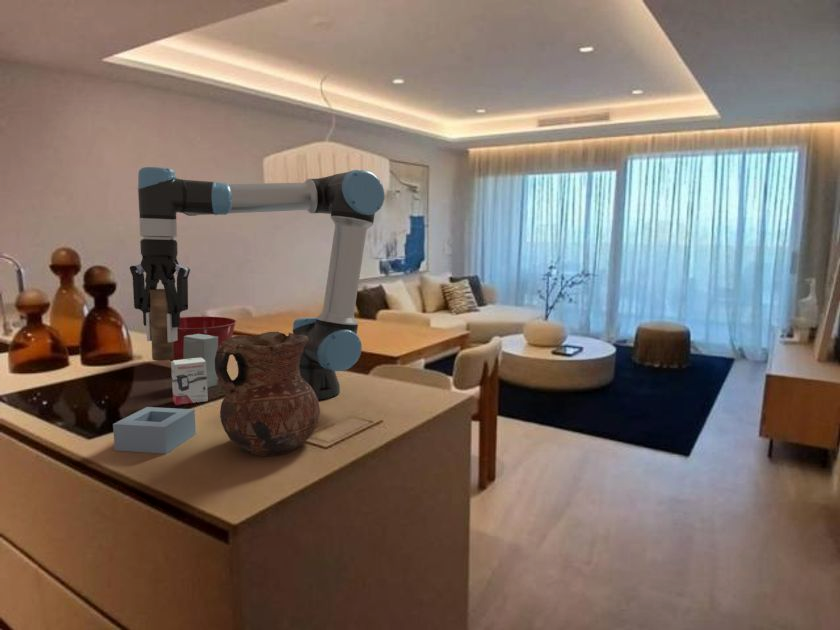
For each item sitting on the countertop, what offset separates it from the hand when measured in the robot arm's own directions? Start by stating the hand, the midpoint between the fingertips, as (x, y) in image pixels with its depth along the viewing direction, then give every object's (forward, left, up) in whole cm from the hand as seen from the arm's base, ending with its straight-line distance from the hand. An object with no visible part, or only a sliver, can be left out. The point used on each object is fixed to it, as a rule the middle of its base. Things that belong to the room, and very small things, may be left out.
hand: (162, 340), depth 126 cm
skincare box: (+13, -40, -23) cm, 48 cm away
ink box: (+8, -24, -23) cm, 34 cm away
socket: (-1, +5, -22) cm, 23 cm away
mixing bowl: (+30, -67, -23) cm, 77 cm away
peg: (0, 0, -4) cm, 4 cm away
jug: (-27, +3, -23) cm, 35 cm away
